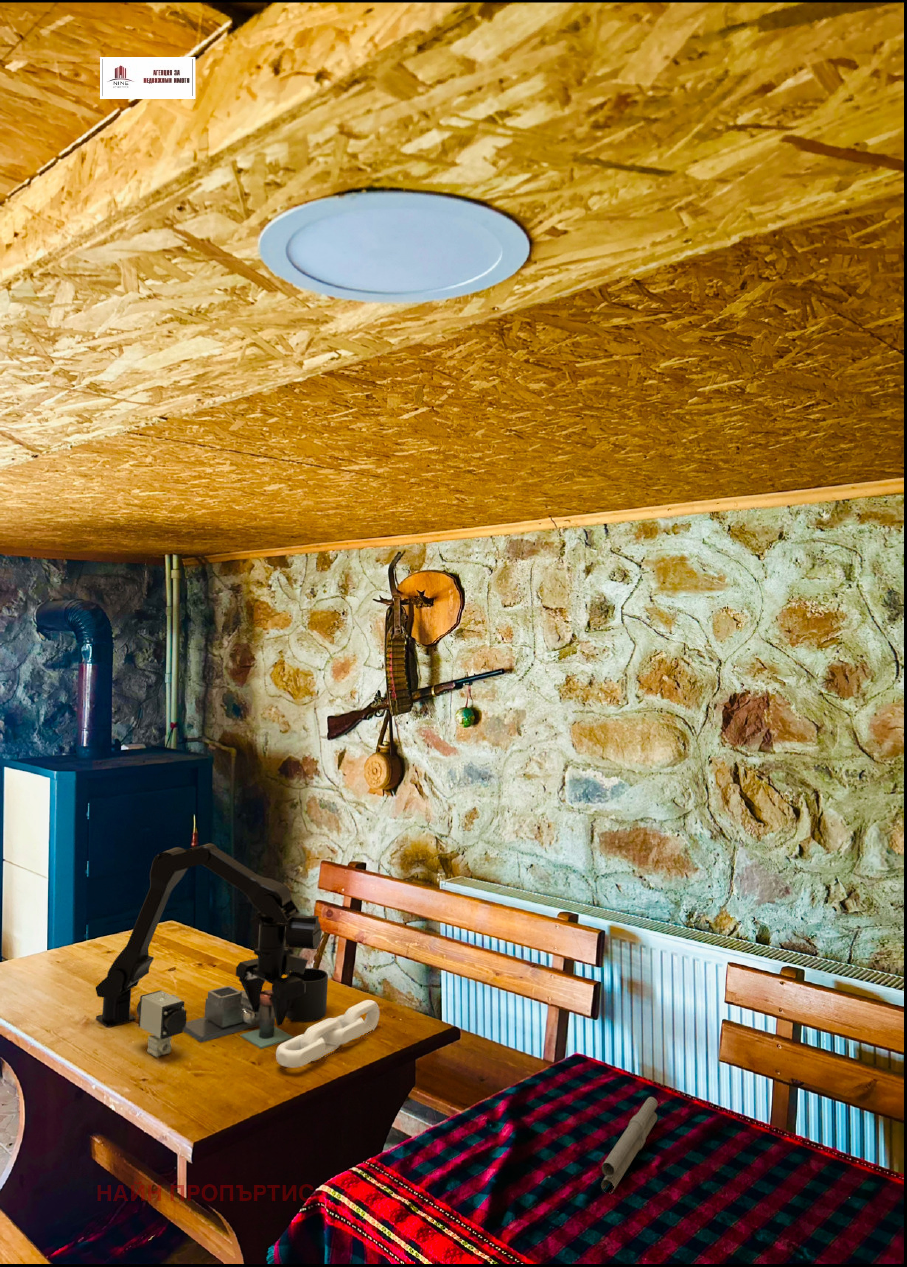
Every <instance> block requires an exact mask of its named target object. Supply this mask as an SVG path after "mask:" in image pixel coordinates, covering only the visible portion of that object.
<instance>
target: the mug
mask: <svg viewBox="0 0 907 1267" xmlns="http://www.w3.org/2000/svg"><path fill="white" fill-rule="evenodd" d="M289 976H295V977H298V978H300V979H302V980H303V981H304V982H305V983H306V986H305V993H304V994H301V995H300V996H298V997H295V998H294V999H293V1001H292V1002H291V1004H290V1006H289V1009H288V1011H287V1014H286V1016H285V1018H287V1020H288V1019H289V1020H291V1021H294V1022H299V1023H311V1022H316V1021H318V1020H320V1019H323V1018H324V1017H325V1016H326V1015H327V1002H328V982H329V980H328V979H329V974H328V972H327V971H325V970H324V969H319V968H313V967H310V968H309V967H306V968H305V971H304V974H300V973H298V972H293V971H290V974H288V975H286V977H289Z"/></svg>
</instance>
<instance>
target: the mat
mask: <svg viewBox="0 0 907 1267" xmlns="http://www.w3.org/2000/svg"><path fill="white" fill-rule="evenodd" d="M240 1038H242V1039H244V1040H245V1041H247V1042H249V1043H250V1044H252V1045H254V1046H256V1047H257V1048H259V1049H260V1050H261V1049H264V1048H267V1047H271V1046H274V1045H277V1044H282V1043H284V1042H286V1041H288V1040H290V1039H292V1038H294V1036H293V1035H291V1034H290V1033H287V1032H285V1031H284V1030H282V1029H280V1028H278V1026H275V1027H274V1036H273V1037H272V1038H269V1039H262V1038H260V1037H259V1028H258V1029H255V1030H251V1031H248V1032H245V1033H241V1034H240Z"/></svg>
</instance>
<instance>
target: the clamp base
mask: <svg viewBox="0 0 907 1267" xmlns="http://www.w3.org/2000/svg"><path fill="white" fill-rule="evenodd" d="M240 991H241V992H242V1001H241V1002H242V1003H244V1005H243V1022H241V1023H237V1024H234V1025H230V1026H227V1027H223V1028H222V1027H220V1026H218V1025H217V1024H215V1023H213V1022H212V1021H210V1020H209V1019H207V1018H205V1016H204V1017H200V1018H196V1019H192V1020H189V1021H186V1026H185V1027H184V1028H183V1032H184V1033H185V1034H187V1035H189V1036H190V1037H191V1038H193V1039H195V1040H196V1041H197V1042H199V1043H204V1042H208V1041H211V1040H215V1039H217V1038H221V1037H225V1036H229V1035H231V1034H235V1033H238V1032H242V1031H245V1030H248V1029H252V1028H256V1027H259V1024H260V1008H259V1011H258V1012H256V1013H255V1012H253V1009H252V1007H251V1004H250V1002H249V999H248V997H247V995H246V992H245V990H243V989H242V990H240Z"/></svg>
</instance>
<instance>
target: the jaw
mask: <svg viewBox="0 0 907 1267" xmlns="http://www.w3.org/2000/svg"><path fill="white" fill-rule="evenodd" d="M241 1001H242V992H241V990H239V989H238V988H235V987H233V986H232V985H228V986H226V985H225V986H223V987H217V988H214V989H210V990H208V991H207V998H205V1001H204V1002H205V1003H204V1004H205V1005H204V1006H205V1007H204V1017H205V1018H207V1019H209V1020H210V1021H212V1022H213V1023H215V1024H217V1025H218V1026H220V1027H222V1028H223V1027H227V1026H230V1025H234V1024H237V1023H241V1022H243V1005H244V1003H242V1002H241Z"/></svg>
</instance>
